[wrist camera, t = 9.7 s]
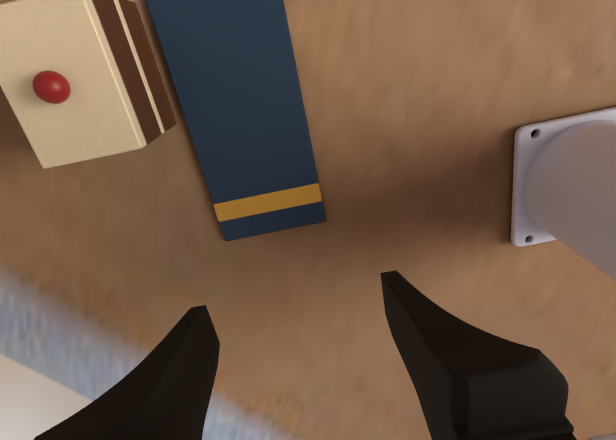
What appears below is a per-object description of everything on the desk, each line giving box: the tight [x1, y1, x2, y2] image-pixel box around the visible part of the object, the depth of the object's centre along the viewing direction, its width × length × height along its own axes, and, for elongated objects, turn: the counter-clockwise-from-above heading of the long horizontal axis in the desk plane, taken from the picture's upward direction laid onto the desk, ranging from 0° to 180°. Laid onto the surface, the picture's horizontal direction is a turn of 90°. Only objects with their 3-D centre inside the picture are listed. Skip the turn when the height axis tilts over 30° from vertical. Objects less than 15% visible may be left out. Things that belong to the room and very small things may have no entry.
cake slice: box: [0, 0, 176, 169], centre depth 17 cm, size 4×6×7 cm
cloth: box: [146, 0, 326, 241], centre depth 19 cm, size 6×22×1 cm, turn 11°
